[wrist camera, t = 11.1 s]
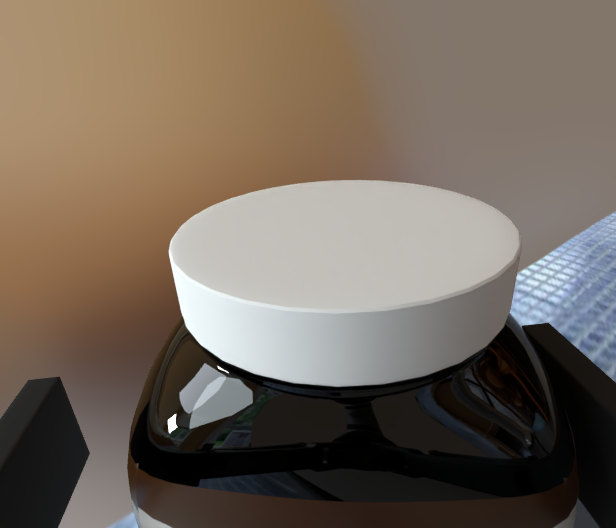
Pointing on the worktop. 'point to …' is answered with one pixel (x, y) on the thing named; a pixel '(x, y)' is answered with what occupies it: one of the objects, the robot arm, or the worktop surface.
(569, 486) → the spread jar
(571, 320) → the worktop surface
